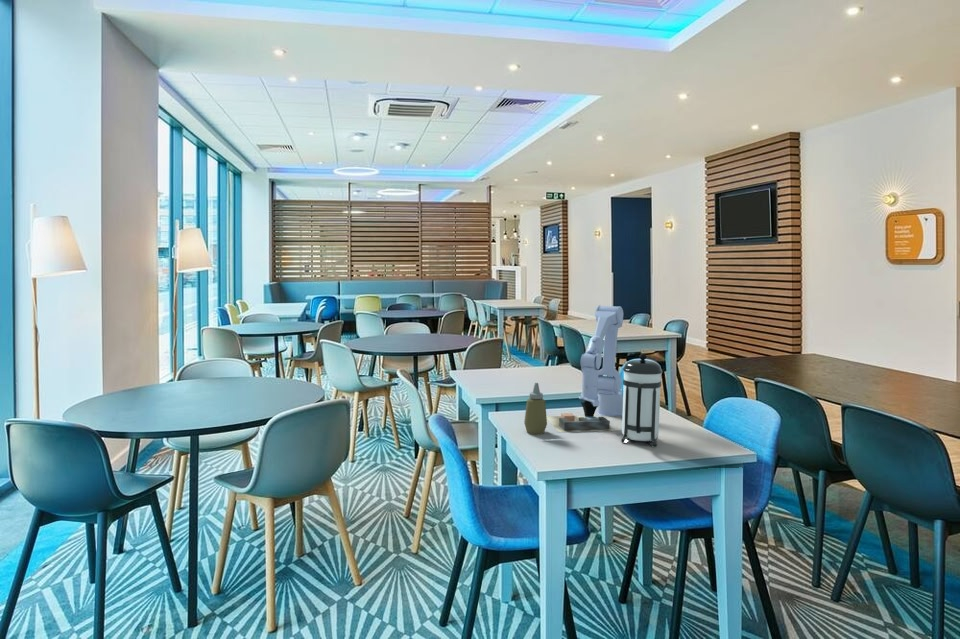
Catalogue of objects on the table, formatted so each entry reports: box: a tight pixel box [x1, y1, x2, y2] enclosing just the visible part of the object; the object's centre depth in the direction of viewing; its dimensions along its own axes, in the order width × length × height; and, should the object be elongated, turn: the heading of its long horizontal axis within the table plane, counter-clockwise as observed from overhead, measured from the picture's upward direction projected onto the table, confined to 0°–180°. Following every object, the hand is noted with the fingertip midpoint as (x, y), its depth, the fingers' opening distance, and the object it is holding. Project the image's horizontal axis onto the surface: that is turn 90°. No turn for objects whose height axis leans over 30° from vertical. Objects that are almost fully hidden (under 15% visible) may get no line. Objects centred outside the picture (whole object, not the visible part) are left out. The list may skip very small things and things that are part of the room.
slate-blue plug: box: [585, 415, 600, 421], centre depth 208 cm, size 4×4×3 cm
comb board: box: [546, 414, 618, 433], centre depth 211 cm, size 22×22×4 cm
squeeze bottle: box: [524, 382, 548, 435], centre depth 198 cm, size 8×8×18 cm
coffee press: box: [620, 353, 663, 447], centre depth 189 cm, size 17×16×30 cm
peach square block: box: [560, 412, 576, 421], centre depth 212 cm, size 4×4×3 cm
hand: (589, 421), depth 211 cm, fingers closed
